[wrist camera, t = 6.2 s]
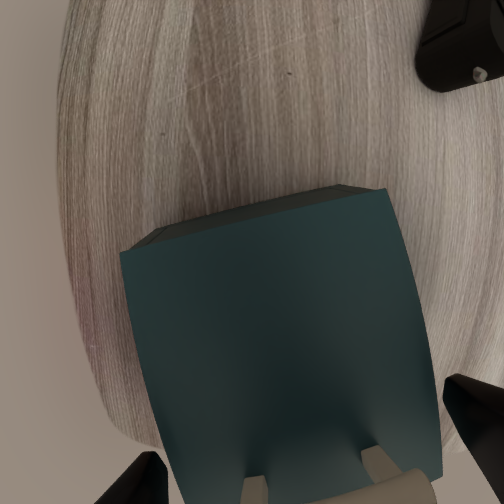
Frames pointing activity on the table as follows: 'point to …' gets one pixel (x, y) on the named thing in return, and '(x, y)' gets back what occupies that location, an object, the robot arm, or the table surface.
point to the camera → (462, 44)
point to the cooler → (249, 212)
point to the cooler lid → (289, 358)
